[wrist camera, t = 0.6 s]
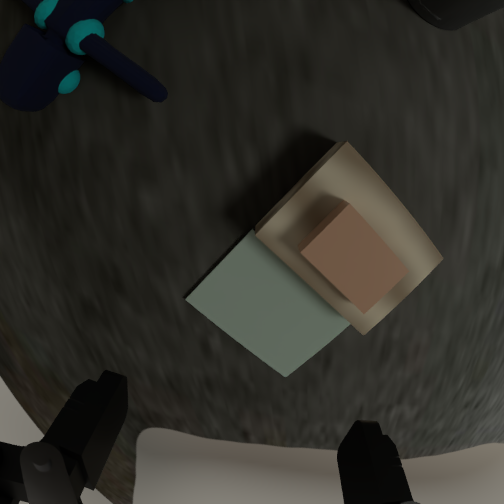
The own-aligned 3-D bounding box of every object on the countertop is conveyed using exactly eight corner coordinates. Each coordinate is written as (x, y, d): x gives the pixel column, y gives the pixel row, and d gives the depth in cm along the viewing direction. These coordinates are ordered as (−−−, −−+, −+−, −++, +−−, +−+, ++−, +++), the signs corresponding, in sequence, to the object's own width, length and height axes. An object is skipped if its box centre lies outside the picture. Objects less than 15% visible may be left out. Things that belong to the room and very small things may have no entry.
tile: (343, 199, 28) (349, 203, 26) (400, 263, 30) (409, 271, 28) (297, 245, 30) (300, 252, 28) (358, 304, 31) (363, 314, 29)
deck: (336, 142, 31) (347, 141, 27) (427, 247, 34) (443, 258, 30) (255, 225, 33) (254, 235, 30) (354, 317, 36) (363, 335, 33)
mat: (252, 228, 34) (252, 229, 33) (351, 320, 37) (352, 322, 36) (186, 298, 36) (185, 299, 36) (285, 375, 39) (285, 377, 39)
